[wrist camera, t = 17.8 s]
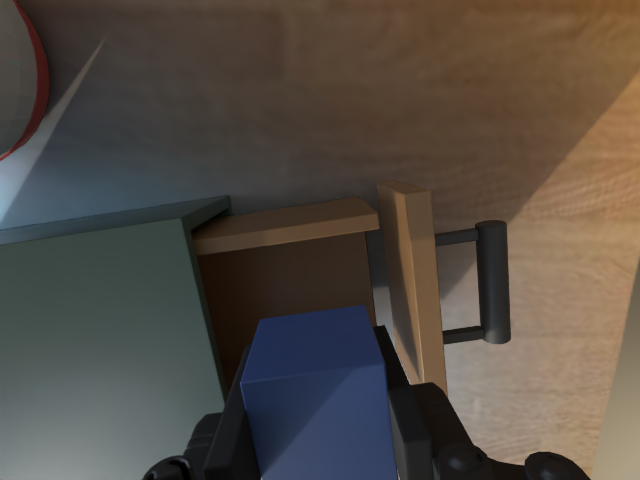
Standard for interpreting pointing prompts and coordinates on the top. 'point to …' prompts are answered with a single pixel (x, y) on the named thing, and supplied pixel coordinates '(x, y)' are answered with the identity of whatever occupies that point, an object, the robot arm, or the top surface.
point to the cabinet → (105, 343)
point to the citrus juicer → (20, 78)
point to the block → (319, 398)
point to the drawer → (347, 273)
